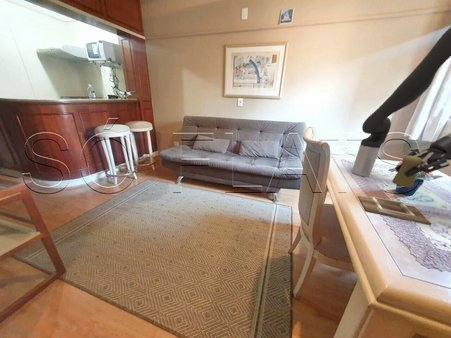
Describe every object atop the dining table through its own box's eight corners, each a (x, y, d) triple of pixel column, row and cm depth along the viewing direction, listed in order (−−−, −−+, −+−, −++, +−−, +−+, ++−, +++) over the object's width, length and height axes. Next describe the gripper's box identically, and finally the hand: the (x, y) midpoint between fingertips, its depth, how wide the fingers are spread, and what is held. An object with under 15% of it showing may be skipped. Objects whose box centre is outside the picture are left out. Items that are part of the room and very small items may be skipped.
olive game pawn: (417, 188, 68) (430, 159, 64) (398, 186, 69) (410, 158, 65) (405, 181, 73) (417, 155, 69) (388, 179, 74) (399, 153, 70)
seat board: (357, 197, 84) (359, 193, 83) (413, 208, 77) (415, 204, 77) (365, 211, 73) (367, 207, 73) (430, 225, 67) (433, 220, 66)
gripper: (432, 131, 69) (384, 159, 76) (471, 140, 56) (408, 172, 63) (442, 147, 70) (394, 172, 77) (482, 158, 57) (420, 188, 64)
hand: (401, 172), depth 70 cm, fingers closed on olive game pawn, 4 cm apart
